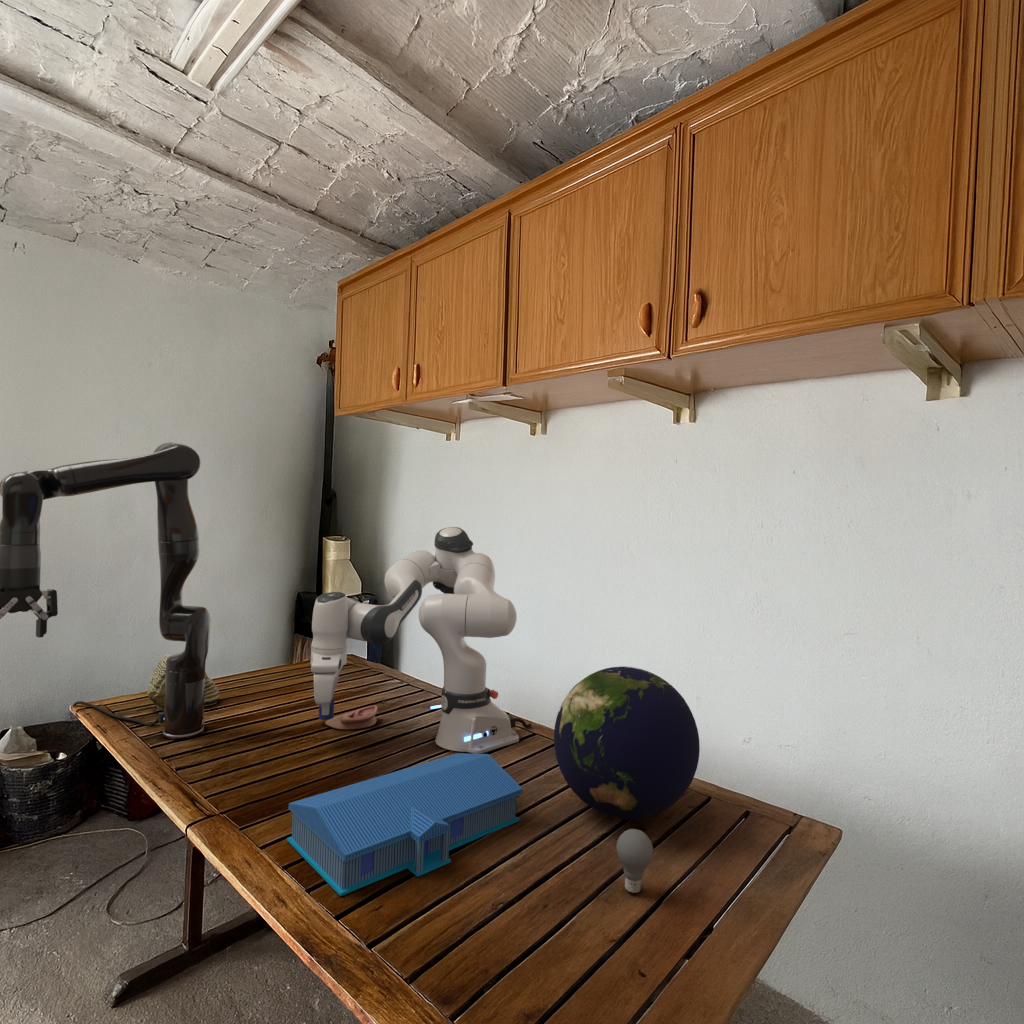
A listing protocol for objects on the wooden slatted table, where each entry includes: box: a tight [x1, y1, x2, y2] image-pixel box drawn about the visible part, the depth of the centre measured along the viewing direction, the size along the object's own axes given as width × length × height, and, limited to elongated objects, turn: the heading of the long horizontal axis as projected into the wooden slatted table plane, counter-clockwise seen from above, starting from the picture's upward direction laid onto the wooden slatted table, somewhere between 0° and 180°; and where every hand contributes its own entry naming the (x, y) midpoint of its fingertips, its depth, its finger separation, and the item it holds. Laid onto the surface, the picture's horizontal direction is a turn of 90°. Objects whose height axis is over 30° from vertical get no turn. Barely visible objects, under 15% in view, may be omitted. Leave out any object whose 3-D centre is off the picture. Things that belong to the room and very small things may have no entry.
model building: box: [286, 752, 524, 897], centre depth 121 cm, size 39×24×10 cm, turn 132°
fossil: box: [147, 654, 221, 712], centre depth 185 cm, size 9×18×15 cm, turn 132°
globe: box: [553, 665, 700, 820], centre depth 133 cm, size 30×30×30 cm
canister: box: [318, 697, 335, 721], centre depth 161 cm, size 4×4×5 cm
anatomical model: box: [324, 704, 378, 730], centre depth 177 cm, size 13×4×12 cm
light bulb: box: [615, 828, 654, 894], centre depth 106 cm, size 6×6×10 cm
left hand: (16, 639), depth 137 cm, fingers open, 8 cm apart
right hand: (326, 711), depth 161 cm, fingers closed on canister, 4 cm apart
